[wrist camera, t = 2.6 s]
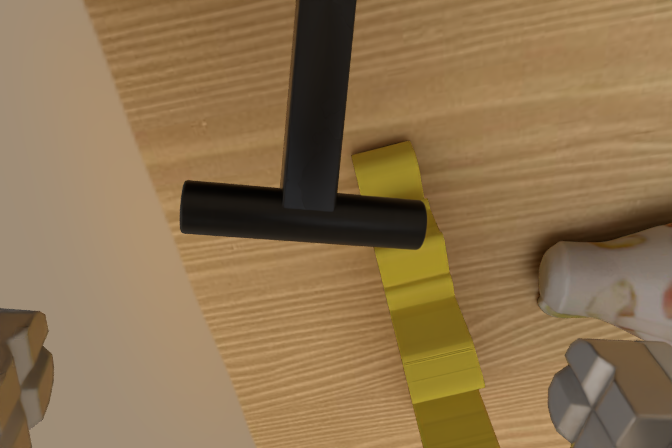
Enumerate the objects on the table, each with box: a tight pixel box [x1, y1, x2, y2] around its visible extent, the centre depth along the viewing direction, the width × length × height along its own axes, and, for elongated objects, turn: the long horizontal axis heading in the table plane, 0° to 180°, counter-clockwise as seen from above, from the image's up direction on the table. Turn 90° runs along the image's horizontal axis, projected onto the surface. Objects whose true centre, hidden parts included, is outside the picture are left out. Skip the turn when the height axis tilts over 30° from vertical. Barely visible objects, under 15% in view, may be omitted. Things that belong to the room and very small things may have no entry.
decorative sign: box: [351, 141, 500, 448], centre depth 28 cm, size 20×3×15 cm, turn 13°
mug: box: [538, 223, 672, 346], centre depth 31 cm, size 8×10×10 cm
